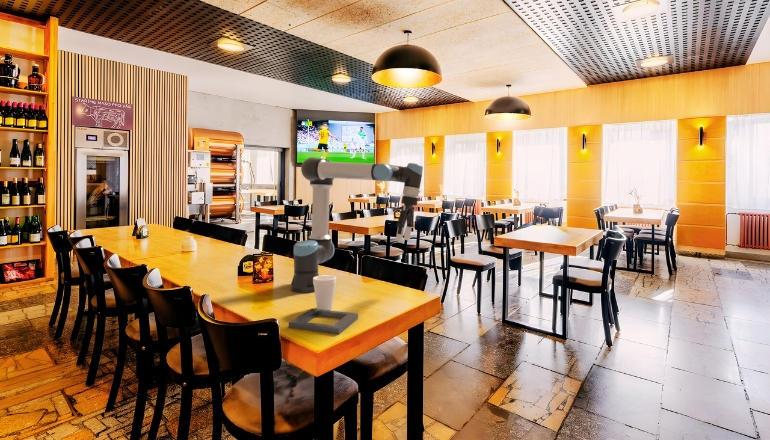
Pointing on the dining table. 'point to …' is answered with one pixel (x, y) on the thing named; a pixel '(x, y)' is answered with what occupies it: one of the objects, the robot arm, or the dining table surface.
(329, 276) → the foam cup
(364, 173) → the robot arm
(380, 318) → the dining table surface
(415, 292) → the dining table surface
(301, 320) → the square frame
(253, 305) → the dining table surface
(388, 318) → the dining table surface
